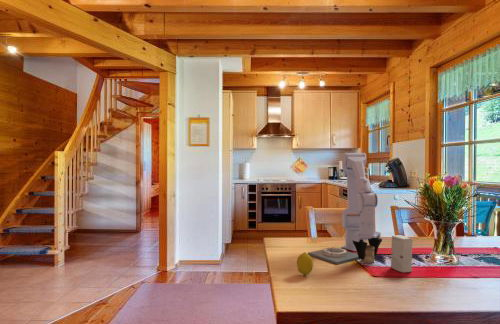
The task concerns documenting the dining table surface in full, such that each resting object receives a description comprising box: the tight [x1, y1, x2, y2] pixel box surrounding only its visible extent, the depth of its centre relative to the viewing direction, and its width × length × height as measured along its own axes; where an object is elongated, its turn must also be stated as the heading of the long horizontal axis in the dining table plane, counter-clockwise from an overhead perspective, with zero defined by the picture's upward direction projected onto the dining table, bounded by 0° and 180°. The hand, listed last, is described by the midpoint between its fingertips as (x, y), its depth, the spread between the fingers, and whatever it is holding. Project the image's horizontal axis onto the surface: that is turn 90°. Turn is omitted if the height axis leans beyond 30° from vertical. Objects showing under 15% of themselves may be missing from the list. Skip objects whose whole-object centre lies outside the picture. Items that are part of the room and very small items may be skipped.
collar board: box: [307, 247, 360, 265], centre depth 132 cm, size 16×16×2 cm
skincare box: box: [390, 234, 413, 273], centre depth 116 cm, size 6×4×12 cm
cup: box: [360, 244, 375, 264], centre depth 125 cm, size 5×5×6 cm
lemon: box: [296, 252, 314, 277], centre depth 109 cm, size 6×6×8 cm
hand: (367, 257), depth 125 cm, fingers open, 7 cm apart
